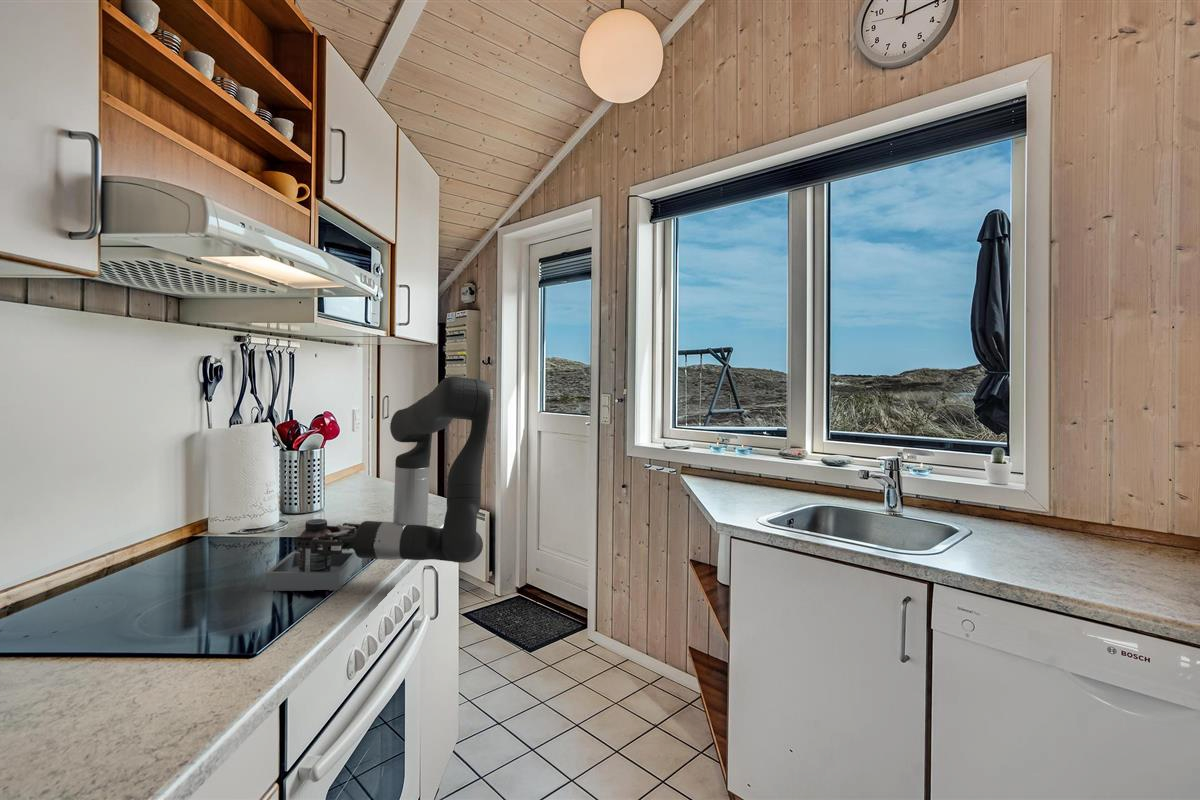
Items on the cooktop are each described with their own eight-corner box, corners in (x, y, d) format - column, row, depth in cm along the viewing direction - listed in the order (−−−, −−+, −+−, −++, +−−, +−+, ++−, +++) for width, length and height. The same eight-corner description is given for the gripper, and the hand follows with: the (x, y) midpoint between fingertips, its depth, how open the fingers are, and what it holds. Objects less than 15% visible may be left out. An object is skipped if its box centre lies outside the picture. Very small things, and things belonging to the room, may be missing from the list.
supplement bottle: (299, 571, 120) (301, 518, 120) (330, 568, 123) (332, 516, 122) (297, 581, 115) (299, 525, 114) (330, 578, 117) (332, 523, 117)
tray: (291, 567, 125) (292, 551, 124) (357, 567, 127) (357, 552, 127) (264, 590, 111) (265, 573, 111) (338, 590, 113) (339, 572, 113)
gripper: (397, 514, 125) (324, 510, 126) (369, 531, 111) (287, 526, 111) (396, 548, 126) (323, 544, 126) (368, 569, 111) (286, 564, 112)
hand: (306, 536), depth 119 cm, fingers open, 8 cm apart
